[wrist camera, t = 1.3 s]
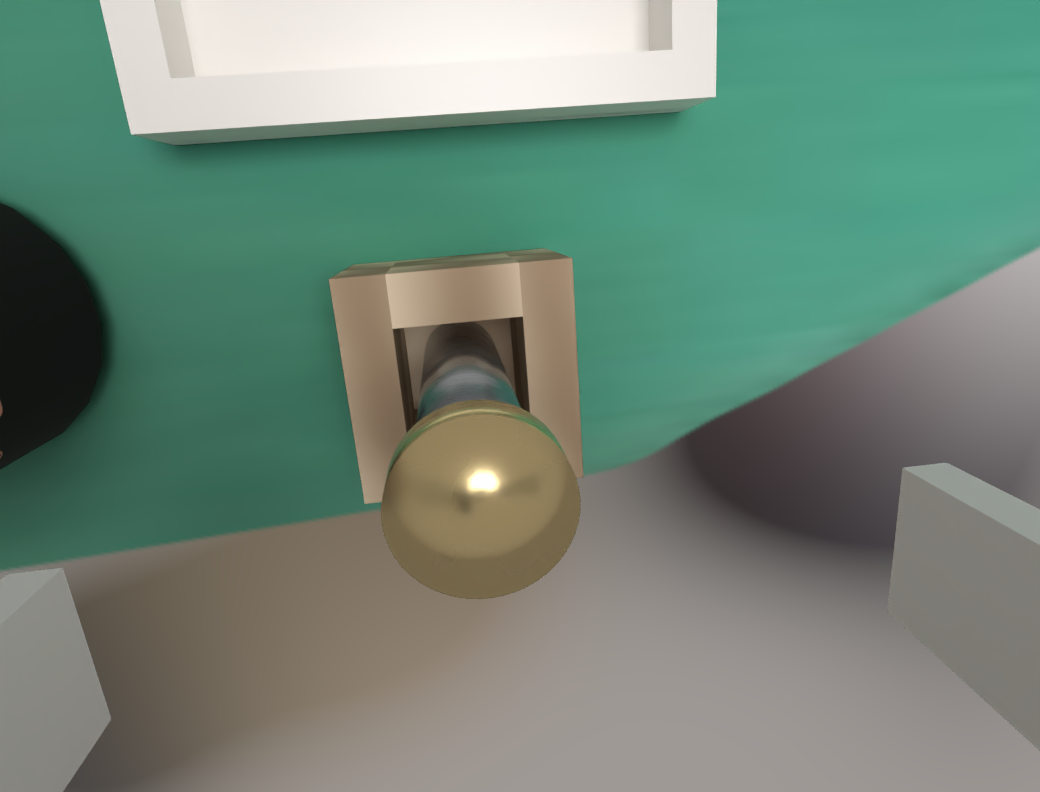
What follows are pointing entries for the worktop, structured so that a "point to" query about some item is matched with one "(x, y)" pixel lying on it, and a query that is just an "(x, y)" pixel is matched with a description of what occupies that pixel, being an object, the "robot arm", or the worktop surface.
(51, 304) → the coffee jar
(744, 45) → the worktop surface
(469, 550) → the steel pin
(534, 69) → the tray
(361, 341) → the block
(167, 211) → the worktop surface
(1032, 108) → the worktop surface
